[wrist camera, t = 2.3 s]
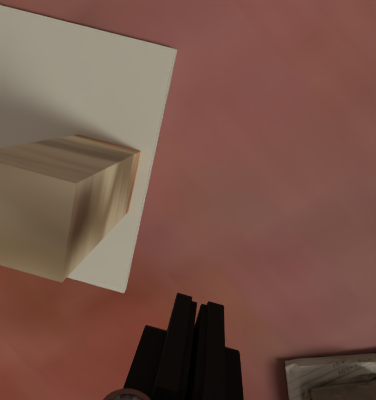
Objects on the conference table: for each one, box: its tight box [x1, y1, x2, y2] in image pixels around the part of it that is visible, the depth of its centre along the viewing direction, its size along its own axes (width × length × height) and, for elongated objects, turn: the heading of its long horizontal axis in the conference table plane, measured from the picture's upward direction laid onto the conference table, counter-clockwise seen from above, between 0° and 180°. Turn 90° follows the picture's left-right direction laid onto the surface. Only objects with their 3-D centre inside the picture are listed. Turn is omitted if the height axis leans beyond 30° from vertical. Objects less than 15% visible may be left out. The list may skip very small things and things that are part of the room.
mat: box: [0, 5, 177, 293], centre depth 26 cm, size 20×19×1 cm
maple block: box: [0, 135, 141, 282], centre depth 20 cm, size 5×5×11 cm
